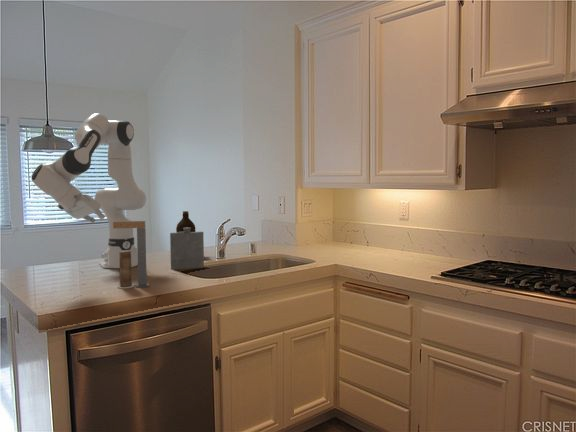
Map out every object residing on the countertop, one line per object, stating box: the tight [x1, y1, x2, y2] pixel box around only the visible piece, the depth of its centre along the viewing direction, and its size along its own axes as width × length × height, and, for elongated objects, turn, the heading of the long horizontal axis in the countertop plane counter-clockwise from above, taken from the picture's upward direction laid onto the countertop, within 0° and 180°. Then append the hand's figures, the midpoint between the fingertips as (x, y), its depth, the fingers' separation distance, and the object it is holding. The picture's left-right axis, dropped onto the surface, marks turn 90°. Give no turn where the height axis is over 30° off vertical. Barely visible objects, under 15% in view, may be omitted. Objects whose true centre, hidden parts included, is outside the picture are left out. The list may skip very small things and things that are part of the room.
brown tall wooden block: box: [119, 251, 133, 287], centre depth 189 cm, size 4×4×14 cm
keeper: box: [113, 220, 150, 290], centre depth 189 cm, size 13×7×26 cm, turn 101°
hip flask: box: [169, 227, 205, 270], centre depth 227 cm, size 16×4×20 cm, turn 109°
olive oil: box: [175, 210, 196, 233], centre depth 264 cm, size 11×11×25 cm
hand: (98, 219), depth 192 cm, fingers open, 8 cm apart
